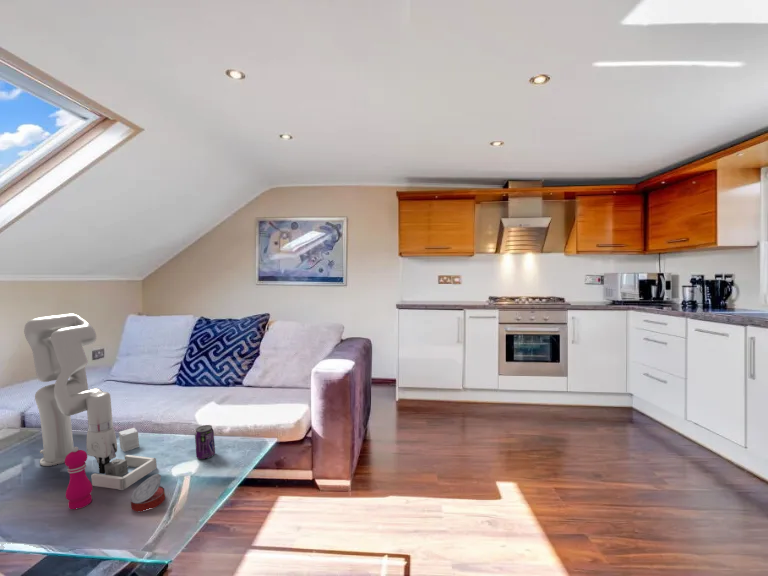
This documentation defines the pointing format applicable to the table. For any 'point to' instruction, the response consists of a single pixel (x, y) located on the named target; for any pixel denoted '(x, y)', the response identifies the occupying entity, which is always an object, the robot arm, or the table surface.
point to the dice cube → (116, 468)
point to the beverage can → (204, 442)
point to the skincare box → (128, 439)
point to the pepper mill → (78, 480)
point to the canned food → (148, 494)
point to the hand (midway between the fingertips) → (104, 471)
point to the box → (122, 483)
